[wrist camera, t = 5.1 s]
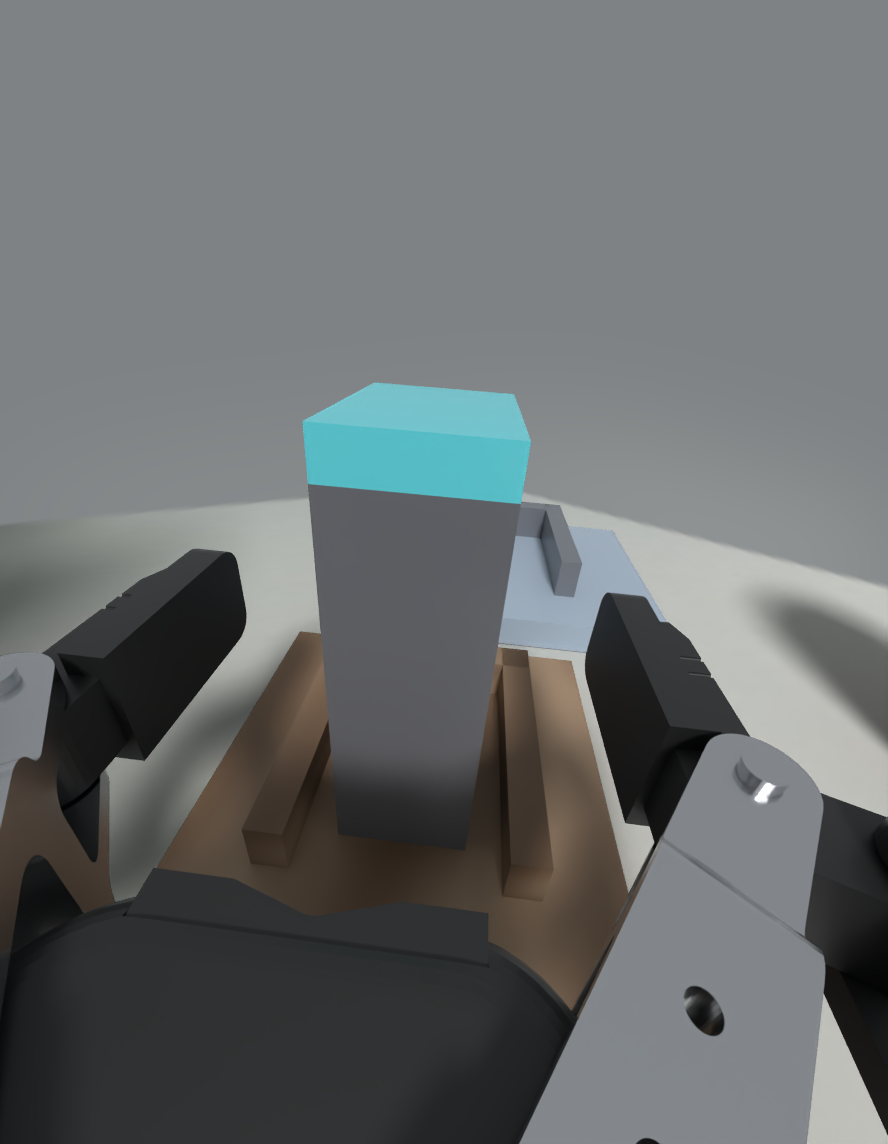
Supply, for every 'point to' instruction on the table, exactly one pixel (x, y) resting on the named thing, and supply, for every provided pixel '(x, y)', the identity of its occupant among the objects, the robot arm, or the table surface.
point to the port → (562, 580)
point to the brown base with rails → (418, 872)
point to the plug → (412, 596)
